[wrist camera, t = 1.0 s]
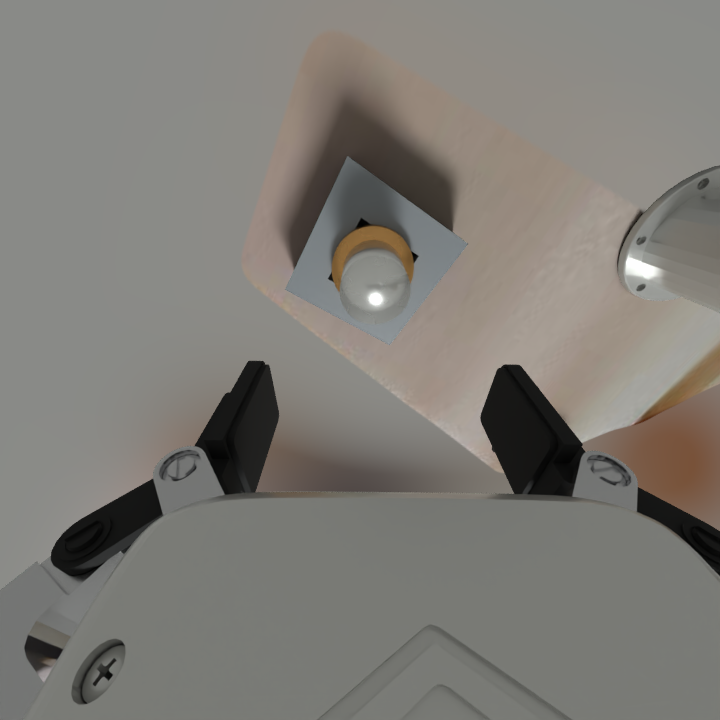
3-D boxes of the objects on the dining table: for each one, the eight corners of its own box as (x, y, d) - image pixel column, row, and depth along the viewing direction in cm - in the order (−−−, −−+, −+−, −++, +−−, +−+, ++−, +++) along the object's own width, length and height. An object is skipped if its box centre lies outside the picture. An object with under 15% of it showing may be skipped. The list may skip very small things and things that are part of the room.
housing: (349, 157, 25) (347, 156, 21) (452, 232, 29) (468, 244, 25) (295, 272, 31) (285, 289, 27) (386, 323, 35) (389, 345, 30)
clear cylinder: (410, 217, 27) (431, 241, 19) (402, 291, 31) (417, 336, 23) (334, 216, 27) (323, 239, 19) (336, 289, 31) (328, 334, 23)
